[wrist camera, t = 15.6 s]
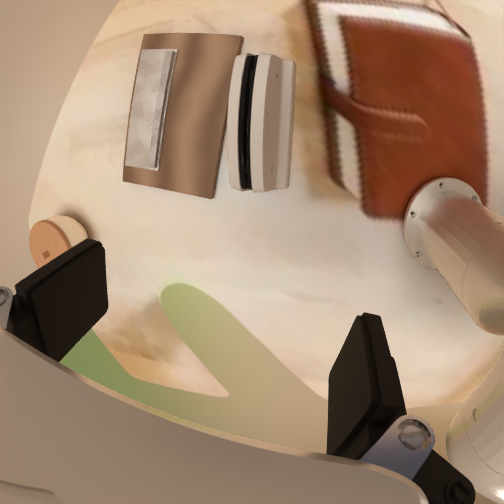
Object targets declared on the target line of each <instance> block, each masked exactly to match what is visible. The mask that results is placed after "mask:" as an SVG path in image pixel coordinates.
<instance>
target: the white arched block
mask: <svg viewBox="0 0 504 504" xmlns="http://www.w3.org/2000/svg"><path fill="white" fill-rule="evenodd" d="M295 70H296V64H295V63H294V62H292V61H288V60H284V59H281V58H279V57H277V56H274V55H272V54H267V53H260V54H259V55H253V54H250V53H246V54H242V55H238V56H236V58H235V62H234V67H233V72H232V78H231V85H230V93H229V102H228V117H227V155H228V169H229V178H230V185H231V187H232V188H234V189H237V190H240V191H246V190H253V192H266V191H270V190H275V189H284V188H287V187H288V186H289V173H290V159H291V144H292V128H293V110H294V91H295Z"/></svg>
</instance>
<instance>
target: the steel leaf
mask: <svg viewBox="0 0 504 504" xmlns="http://www.w3.org/2000/svg"><path fill="white" fill-rule="evenodd" d="M178 51H179V50H178V49H142V52H141V57H140V62H139V67H138V72H137V77H136V83H135V89H134V95H133V102H132V108H131V115H130V123H129V131H128V140H127V150H126V161H125V166H132V167H138V168H144V169H150V170H156V171H159V169H160V160H161V151H162V144H163V136H164V129H165V122H166V116H167V109H168V103H169V97H170V91H171V86H172V80H173V75H174V70H175V65H176V60H177V55H178Z"/></svg>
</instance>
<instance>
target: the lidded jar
mask: <svg viewBox="0 0 504 504" xmlns="http://www.w3.org/2000/svg"><path fill="white" fill-rule="evenodd" d="M87 238H88V235H87V232H86V230H85V228H84V227H83V225H82V224H81V223H79V222H78V221H76V220H75V219H73V218H71V217H68V216H63V215H59V216H54V217H50V218H47V219H45V220H42V221H39V222H37V223H36V224H35V225H34V226H33V227H32V229H31V232H30V238H29V240H30V241H29V243H30V250H31V253H32V256H33V259H34V261H35V263H36V265H37V267H38V268H41V267H42V266H44V265H45V264H47V263H48V262H50V261H51V260H53V259H54V258H56V257H58V256H59V255H61V254H62V253H64V252H65V251H67V250H69V249H70V248H72V247H73V246H75V245H77V244H78V243H80V242H82V241H83V240H85V239H87Z"/></svg>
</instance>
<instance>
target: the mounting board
mask: <svg viewBox="0 0 504 504" xmlns="http://www.w3.org/2000/svg"><path fill="white" fill-rule="evenodd" d="M242 42H243V37H242V36H237V35H224V34H204V33H162V34H144V37H143V41H142V46H141V50H140V55H139V60H138V65H137V70H136V75H135V81H134V87H133V93H132V99H131V106H130V113H129V120H128V128H127V137H126V146H125V157H124V169H123V181H124V182H130V183H135V184H140V185H145V186H150V187H155V188H160V189H165V190H170V191H175V192H180V193H185V194H189V195H194V196H199V197H203V198H208V199H212V198H214V194H215V187H216V181H217V175H218V169H219V163H220V157H221V151H222V145H223V139H224V133H225V128H226V122H227V117H228V102H229V93H230V85H231V78H232V72H233V67H234V62H235V58H236V56H238V55H240V52H241V47H242ZM142 49H178V50H179V51H178V55H177V60H176V65H175V70H174V75H173V80H172V86H171V91H170V97H169V103H168V109H167V116H166V122H165V129H164V136H163V144H162V151H161V160H160V169H159V171H156V170H150V169H144V168H138V167H132V166H125V161H126V150H127V140H128V131H129V123H130V115H131V108H132V102H133V95H134V89H135V83H136V77H137V72H138V67H139V62H140V57H141V52H142Z"/></svg>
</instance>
